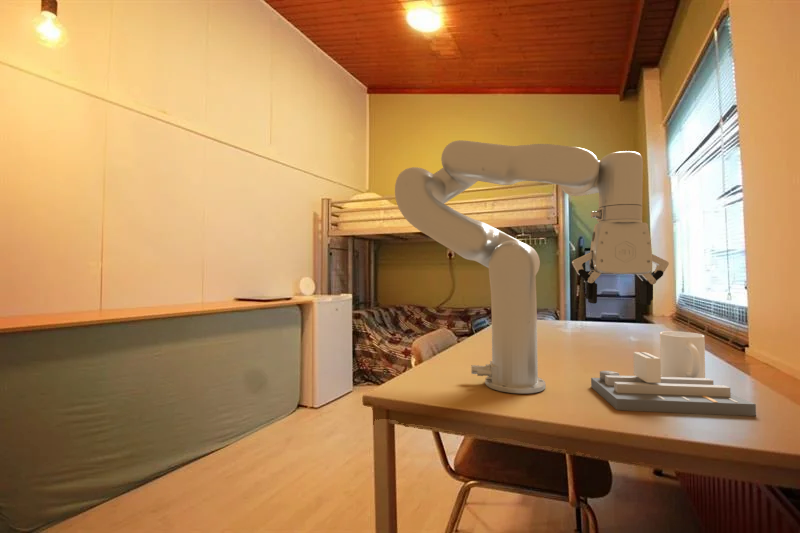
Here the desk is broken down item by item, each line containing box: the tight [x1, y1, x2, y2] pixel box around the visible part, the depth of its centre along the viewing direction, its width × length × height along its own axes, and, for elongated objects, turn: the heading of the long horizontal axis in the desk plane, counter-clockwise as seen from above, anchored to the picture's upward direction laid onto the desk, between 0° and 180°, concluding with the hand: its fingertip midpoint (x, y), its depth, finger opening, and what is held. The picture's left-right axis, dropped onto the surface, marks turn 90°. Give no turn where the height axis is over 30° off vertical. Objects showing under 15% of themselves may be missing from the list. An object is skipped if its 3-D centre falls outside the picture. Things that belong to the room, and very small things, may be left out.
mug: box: [659, 330, 706, 378], centre depth 87 cm, size 12×8×10 cm
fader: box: [632, 351, 662, 383], centre depth 75 cm, size 3×6×6 cm, turn 171°
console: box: [590, 370, 757, 417], centre depth 75 cm, size 22×14×4 cm, turn 81°
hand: (618, 303), depth 77 cm, fingers open, 9 cm apart
